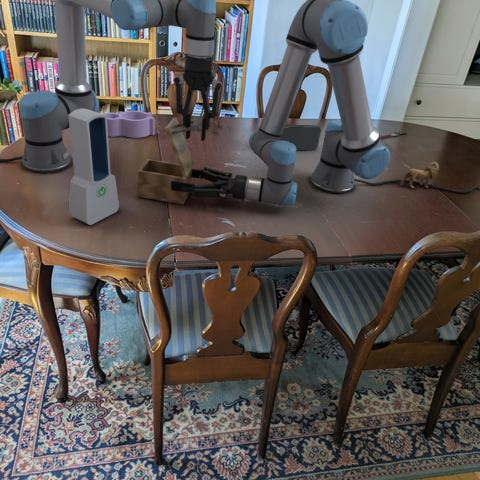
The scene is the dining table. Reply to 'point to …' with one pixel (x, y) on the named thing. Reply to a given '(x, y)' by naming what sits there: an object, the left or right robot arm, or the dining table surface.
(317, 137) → the rounded dark grey slab
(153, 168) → the chest
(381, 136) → the sword
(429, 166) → the lion figurine
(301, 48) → the right robot arm
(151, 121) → the purple wavy organizer
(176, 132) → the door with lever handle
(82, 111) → the electronic device
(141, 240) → the dining table surface
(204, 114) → the miniature windmill
